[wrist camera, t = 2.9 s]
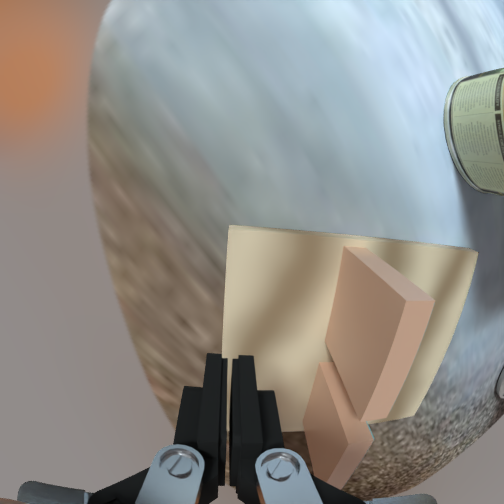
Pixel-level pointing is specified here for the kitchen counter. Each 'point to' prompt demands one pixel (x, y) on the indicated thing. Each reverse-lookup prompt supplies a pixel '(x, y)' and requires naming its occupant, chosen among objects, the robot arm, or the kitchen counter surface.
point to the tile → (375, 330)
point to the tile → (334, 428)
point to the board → (326, 308)
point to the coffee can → (477, 129)
